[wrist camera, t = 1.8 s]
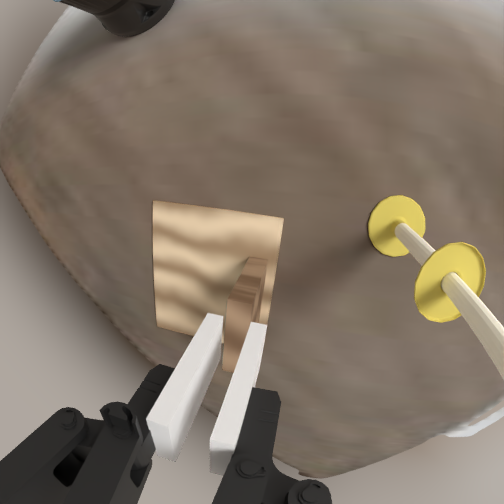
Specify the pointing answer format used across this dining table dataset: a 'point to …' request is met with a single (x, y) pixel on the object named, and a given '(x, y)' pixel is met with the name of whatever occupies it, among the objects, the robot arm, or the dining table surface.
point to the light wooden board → (207, 260)
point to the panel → (243, 309)
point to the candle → (438, 272)
